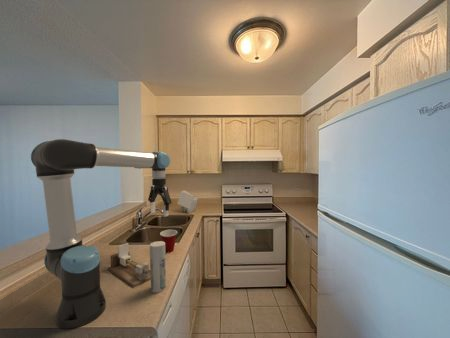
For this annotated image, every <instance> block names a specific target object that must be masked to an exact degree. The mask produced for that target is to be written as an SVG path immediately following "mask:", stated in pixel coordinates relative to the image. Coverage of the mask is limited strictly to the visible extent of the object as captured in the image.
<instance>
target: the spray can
mask: <svg viewBox="0 0 450 338" xmlns="http://www.w3.org/2000/svg"><path fill="white" fill-rule="evenodd" d="M149 260H150V261H149V270H151V280H150V291H151V292H152V293H153V294H154V293H155V294H156V293H157V294H158V293H162V292H163V291H165V290H166V287H167V283H166V282H167V276H166V275H167V272H166V271H167V270H166V268H167V267H166V265H167V264H166V252H165V242H163V241H162V240H160V241H159V240H158V241H153V242H151V243H150V244H149Z"/></svg>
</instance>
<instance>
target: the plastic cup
mask: <svg viewBox="0 0 450 338" xmlns="http://www.w3.org/2000/svg"><path fill="white" fill-rule="evenodd" d="M159 234H160V237H161V241H163V242H165V253H171V252H174V250H175V245H176V237H177V234H178V231H177V230H176V229H165V230H161V231H160V233H159Z"/></svg>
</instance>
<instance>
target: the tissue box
mask: <svg viewBox="0 0 450 338" xmlns="http://www.w3.org/2000/svg"><path fill="white" fill-rule="evenodd" d="M177 200H178V201H177V205H179V206H181V207H180V209H181V210H182V212H183V213H185V212H186V213H187V214H191V213H193V212H194V210H195V209H196V207H197V204H198V200H199V197H197V196H195V195H192V194H191V193H190V192H188V191H187V190H185V189H183V190H181V191H180V194H179V197H178V199H177Z"/></svg>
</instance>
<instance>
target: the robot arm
mask: <svg viewBox="0 0 450 338" xmlns="http://www.w3.org/2000/svg"><path fill="white" fill-rule="evenodd" d="M30 159H31V160H30V161H31V162H32V164H33V166H34V167H35V172H36V178H38V179H39V180H41V181H42V185H43V186H42V187H43V194H44V195H43V196H44V201H45V208H46V209H45V210H46V217H47V224H48V233H49V242H48V243H47V244H46V246H45V250H46V253H45V255H44V259H43V262H44V263H43V264H44V266H45V268H46V270H47V272H49V273H51V275H54V276H55V277H56V278H57V279H59V280H60V281H61V294H62V295H61V300H60V304H59V307H58V310H57V313H56V317H55V320H56V321H55V323H56V325H57V327H58V328H60V329H74V328H78V327H82V326H85V325H87V324H89V323H91V322H93V321H94V320H96V319H97V318H98V317H100V316H101V315H102V314H103V313H104V311H105V310H106V307H107V302H106V301H107V300H106V297H105V295H104V292H103V290H102V288H101V266H100V265H101V263H100V261H101V256H100V251H99V249H98V248H97V247H96V246H93V245H86V244H85V245H84V244H83V238H82V237H81V236H80V235H78V231H77V225H76V216H75V208H74V206H75V205H74V197H73V190H72V189H73V187H72V177H73V176H74V175H75V170H82V169H94V168H95V167H108V168H110V167H111V168H112V167H113V168H114V167H116V168H117V167H118V168H134V169H151V178H152V179H151V181H152V183H151V185H150V191H149V194H148V198H147V200H148V202H149V203H150V214H156V198H157V197H158V195H159V196H160V197H161V199H162V202H163V217H168V216H170V215H169V210H170V205H171V204H172V200H171V196H170V192H169V188H168V186H166V185H167V184H166V182H167V179H166V168H168V167H169V166H170V165H171V157H170V155H168V154H167V153H165V152H164V151H152V152H148V151H139V150H129V149H122V148H121V149H119V148H109V147H103V146H101V147H100V146H97V145H95V144H94V143H87V142H82V141H78V140H77V141H75V140H72V139H71V140H70V139H64V138H61V139H60V138H58V139H54V140H47V141H43V142H41V143H39V144H37V145H36V146H35V147H34V148H33V149H32V151H31V153H30Z"/></svg>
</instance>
